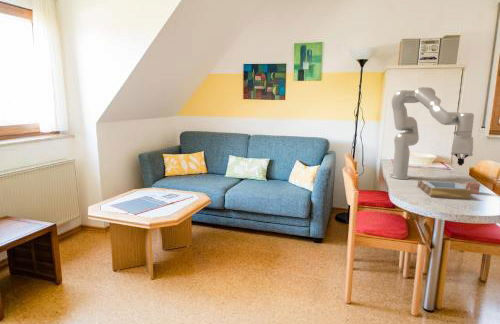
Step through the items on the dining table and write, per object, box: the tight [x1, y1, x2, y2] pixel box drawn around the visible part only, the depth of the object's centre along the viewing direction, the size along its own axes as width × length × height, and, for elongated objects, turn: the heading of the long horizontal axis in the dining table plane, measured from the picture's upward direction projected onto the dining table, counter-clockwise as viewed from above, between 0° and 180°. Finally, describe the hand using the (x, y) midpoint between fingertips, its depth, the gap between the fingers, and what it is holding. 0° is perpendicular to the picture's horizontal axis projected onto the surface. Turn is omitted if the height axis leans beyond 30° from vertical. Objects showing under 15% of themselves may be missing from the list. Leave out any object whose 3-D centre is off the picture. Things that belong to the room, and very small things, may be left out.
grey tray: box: [425, 180, 467, 190], centre depth 187 cm, size 14×17×4 cm
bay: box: [416, 180, 472, 200], centre depth 191 cm, size 23×20×5 cm
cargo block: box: [465, 181, 481, 195], centre depth 191 cm, size 5×5×6 cm
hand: (460, 165), depth 191 cm, fingers closed
